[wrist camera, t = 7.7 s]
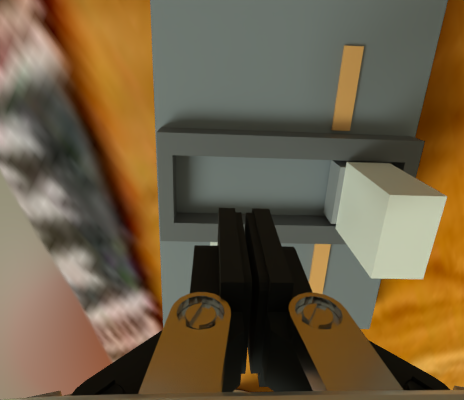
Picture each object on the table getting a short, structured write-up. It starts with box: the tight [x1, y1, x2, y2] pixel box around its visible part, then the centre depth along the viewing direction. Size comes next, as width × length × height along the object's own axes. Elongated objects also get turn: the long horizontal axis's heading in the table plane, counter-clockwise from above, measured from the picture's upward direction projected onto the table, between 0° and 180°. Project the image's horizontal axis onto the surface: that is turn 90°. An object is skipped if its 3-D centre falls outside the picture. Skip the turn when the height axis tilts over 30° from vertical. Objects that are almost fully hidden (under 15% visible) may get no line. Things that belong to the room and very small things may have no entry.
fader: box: [323, 160, 447, 279], centre depth 18 cm, size 4×3×7 cm
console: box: [150, 0, 448, 329], centre depth 21 cm, size 22×15×4 cm
